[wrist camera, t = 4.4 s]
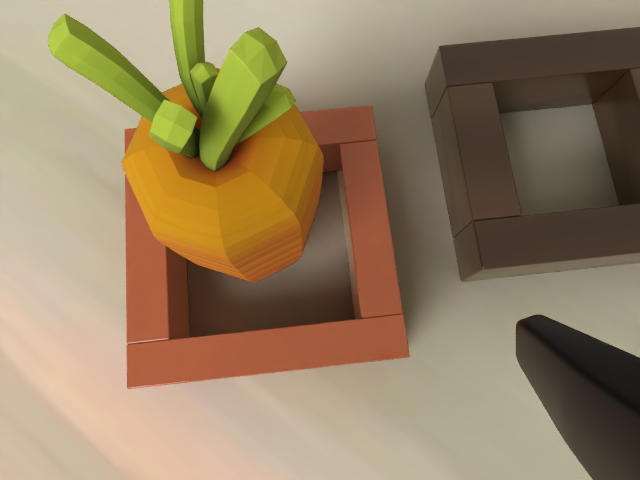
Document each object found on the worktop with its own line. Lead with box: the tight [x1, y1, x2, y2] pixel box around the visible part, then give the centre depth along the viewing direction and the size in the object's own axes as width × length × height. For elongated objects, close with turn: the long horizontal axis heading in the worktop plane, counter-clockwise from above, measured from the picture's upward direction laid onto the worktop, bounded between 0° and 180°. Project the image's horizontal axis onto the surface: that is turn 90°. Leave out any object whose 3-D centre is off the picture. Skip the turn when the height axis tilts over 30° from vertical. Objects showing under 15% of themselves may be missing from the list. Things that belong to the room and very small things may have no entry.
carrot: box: [48, 0, 324, 282], centre depth 15 cm, size 5×5×15 cm
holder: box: [125, 106, 410, 389], centre depth 20 cm, size 10×10×3 cm
